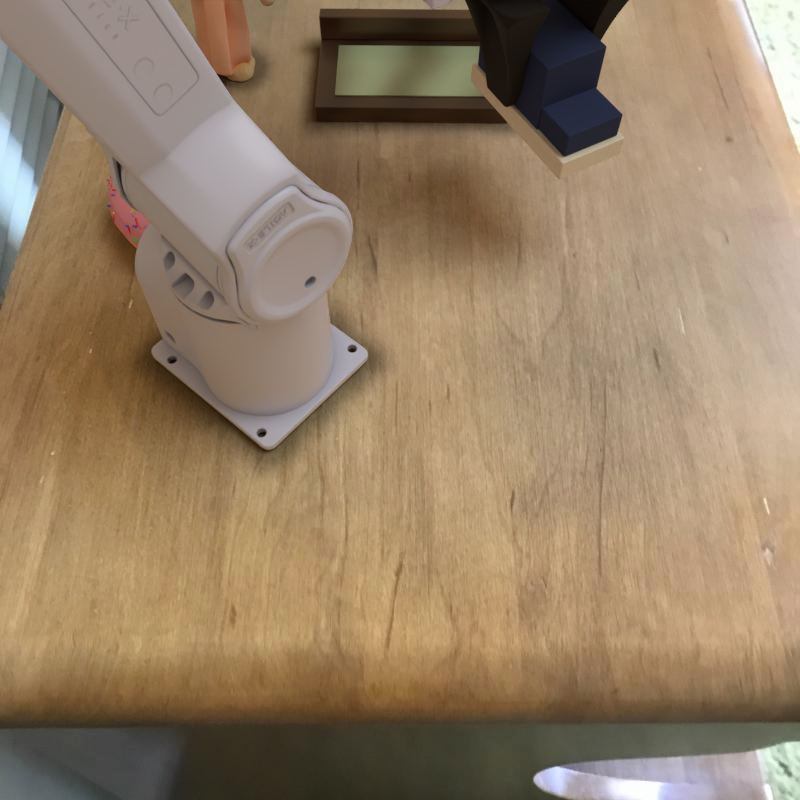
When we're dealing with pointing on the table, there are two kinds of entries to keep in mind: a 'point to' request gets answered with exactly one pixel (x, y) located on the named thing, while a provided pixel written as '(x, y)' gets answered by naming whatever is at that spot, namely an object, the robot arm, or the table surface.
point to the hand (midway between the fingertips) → (533, 82)
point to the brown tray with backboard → (399, 67)
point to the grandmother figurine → (225, 36)
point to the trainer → (561, 97)
